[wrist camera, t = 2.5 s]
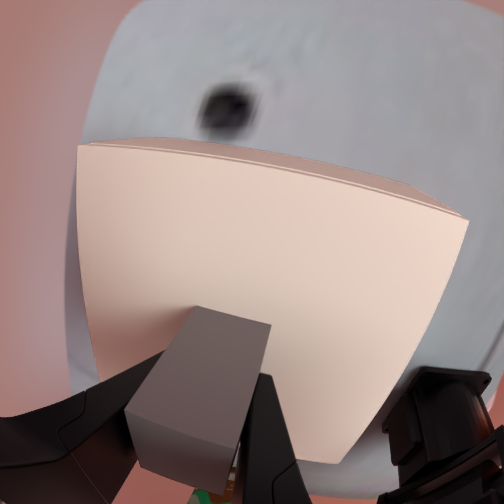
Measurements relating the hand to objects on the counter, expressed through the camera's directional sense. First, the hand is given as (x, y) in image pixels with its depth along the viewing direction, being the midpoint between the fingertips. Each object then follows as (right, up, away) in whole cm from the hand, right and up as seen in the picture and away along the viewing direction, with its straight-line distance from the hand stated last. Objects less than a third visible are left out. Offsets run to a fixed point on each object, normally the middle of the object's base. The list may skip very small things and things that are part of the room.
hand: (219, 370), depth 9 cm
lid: (0, +1, +1) cm, 2 cm away
